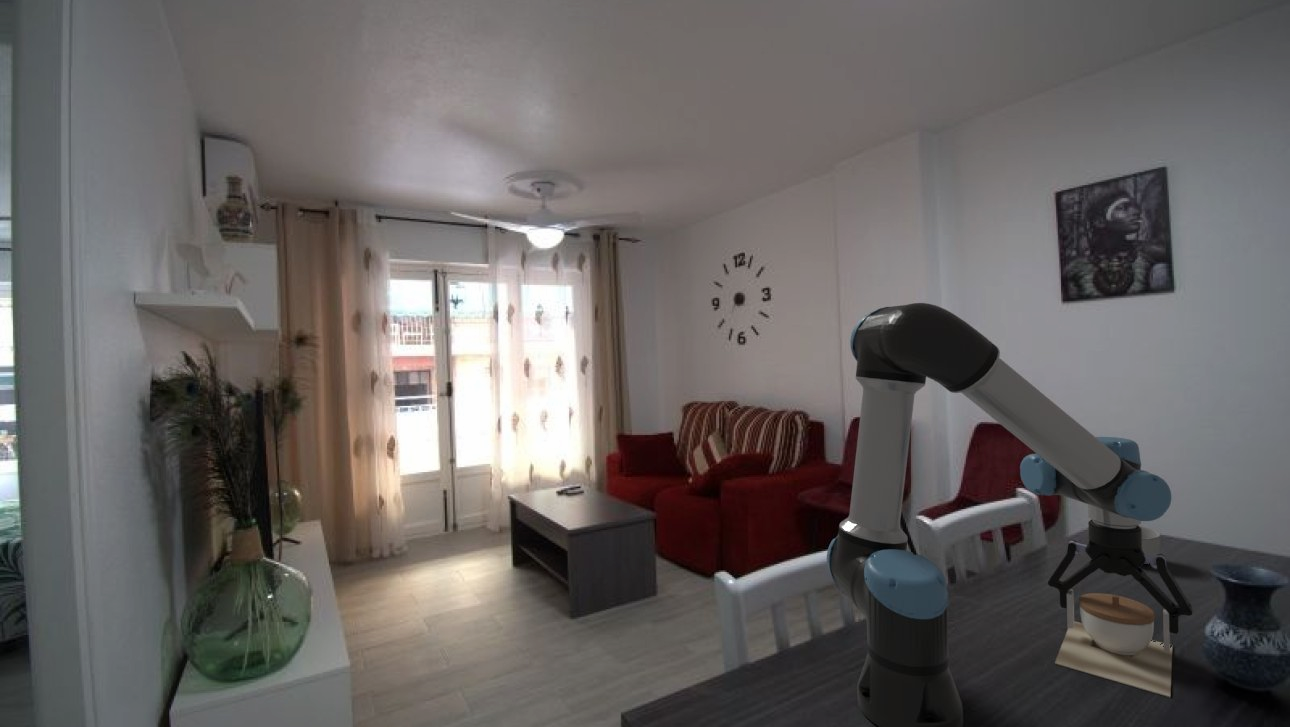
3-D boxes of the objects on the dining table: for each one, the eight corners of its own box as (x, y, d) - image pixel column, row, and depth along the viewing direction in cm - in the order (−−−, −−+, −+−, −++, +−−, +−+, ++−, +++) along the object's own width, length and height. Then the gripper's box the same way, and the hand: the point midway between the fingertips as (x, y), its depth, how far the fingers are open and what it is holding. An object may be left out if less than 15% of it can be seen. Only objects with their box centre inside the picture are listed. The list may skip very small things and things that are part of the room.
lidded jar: (1170, 665, 98) (1170, 611, 98) (1100, 660, 100) (1099, 608, 100) (1131, 633, 109) (1130, 585, 108) (1067, 630, 111) (1067, 583, 111)
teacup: (1173, 568, 138) (1172, 535, 138) (1129, 570, 138) (1129, 537, 138) (1123, 548, 152) (1123, 518, 152) (1084, 549, 152) (1083, 520, 152)
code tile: (1170, 697, 90) (1170, 696, 90) (1054, 663, 100) (1054, 662, 100) (1172, 646, 104) (1172, 644, 104) (1071, 621, 115) (1071, 620, 115)
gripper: (1209, 530, 98) (1211, 650, 99) (1036, 506, 115) (1039, 609, 116) (1211, 542, 93) (1213, 669, 93) (1029, 515, 110) (1031, 623, 110)
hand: (1116, 636), depth 104 cm, fingers open, 13 cm apart
